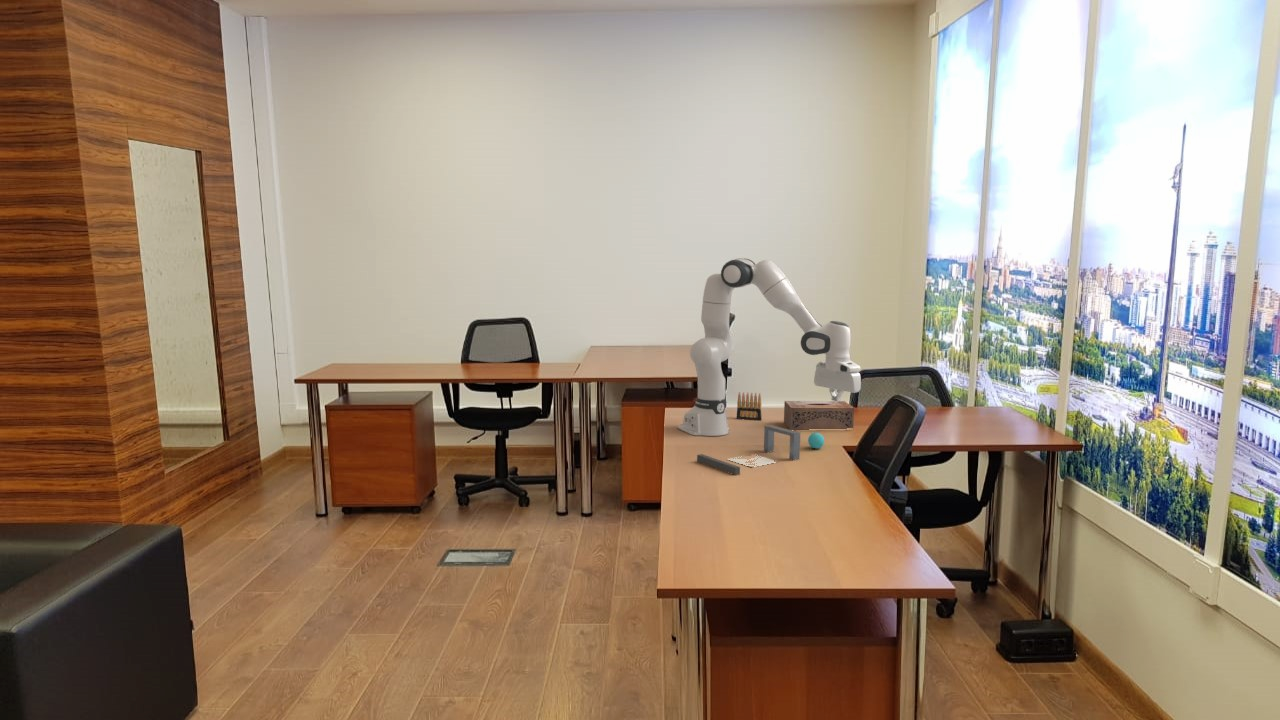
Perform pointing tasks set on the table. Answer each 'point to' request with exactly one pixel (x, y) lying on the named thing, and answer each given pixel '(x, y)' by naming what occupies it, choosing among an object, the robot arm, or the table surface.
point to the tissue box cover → (818, 415)
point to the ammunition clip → (747, 411)
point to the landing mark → (759, 462)
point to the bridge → (793, 435)
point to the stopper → (718, 464)
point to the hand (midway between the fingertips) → (835, 400)
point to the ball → (816, 440)
